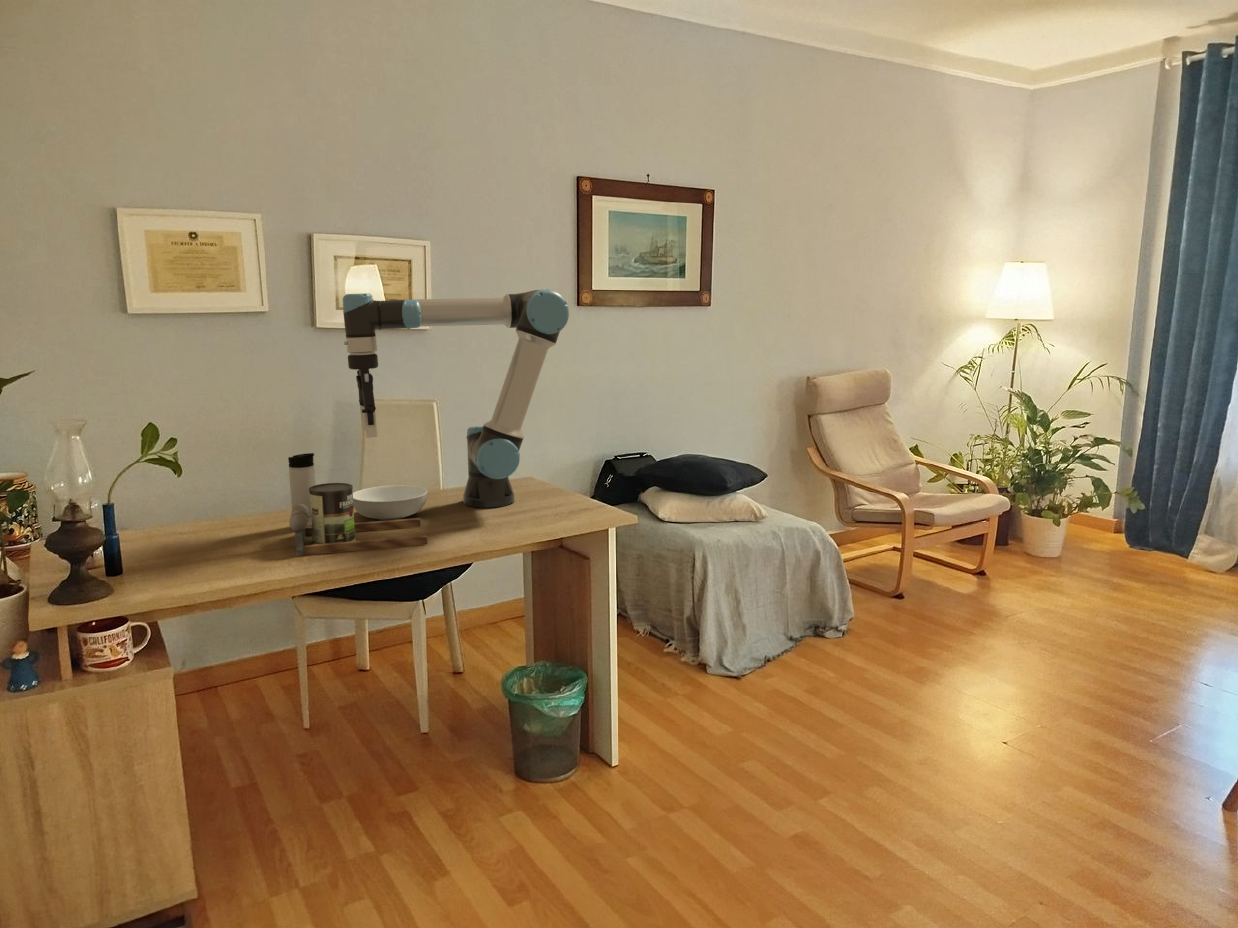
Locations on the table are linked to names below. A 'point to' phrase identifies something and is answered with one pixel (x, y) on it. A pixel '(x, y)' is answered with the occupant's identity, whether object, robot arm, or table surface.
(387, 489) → the serving bowl
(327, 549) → the bay
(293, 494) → the travel mug
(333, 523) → the coffee can
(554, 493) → the table surface
